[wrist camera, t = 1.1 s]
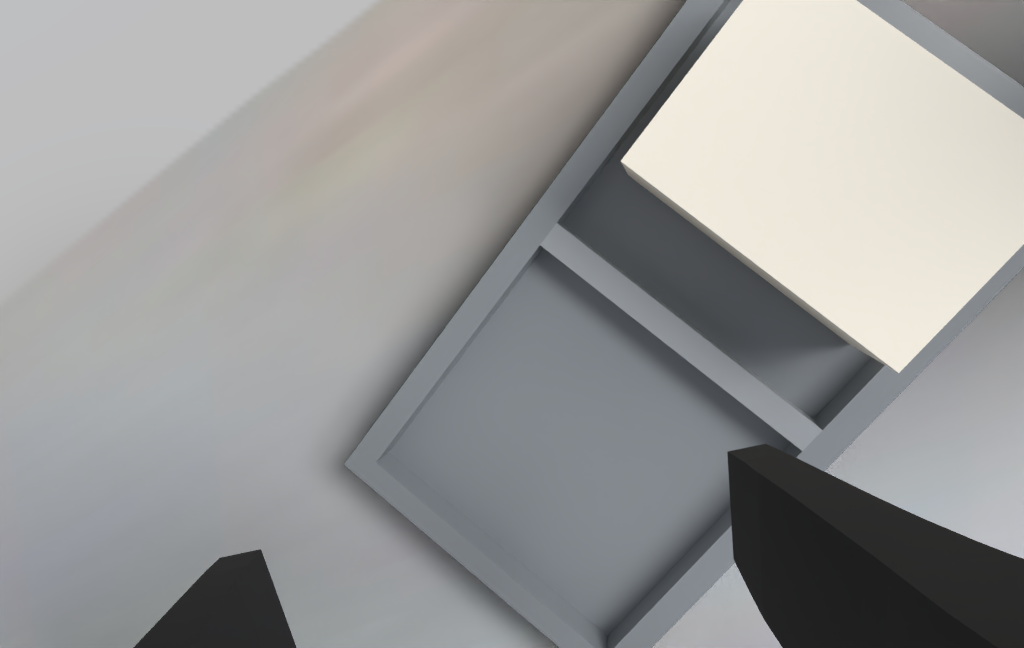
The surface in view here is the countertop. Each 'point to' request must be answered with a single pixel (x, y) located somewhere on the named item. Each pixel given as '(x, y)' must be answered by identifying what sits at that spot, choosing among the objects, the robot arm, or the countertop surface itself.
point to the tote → (627, 382)
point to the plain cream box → (842, 169)
